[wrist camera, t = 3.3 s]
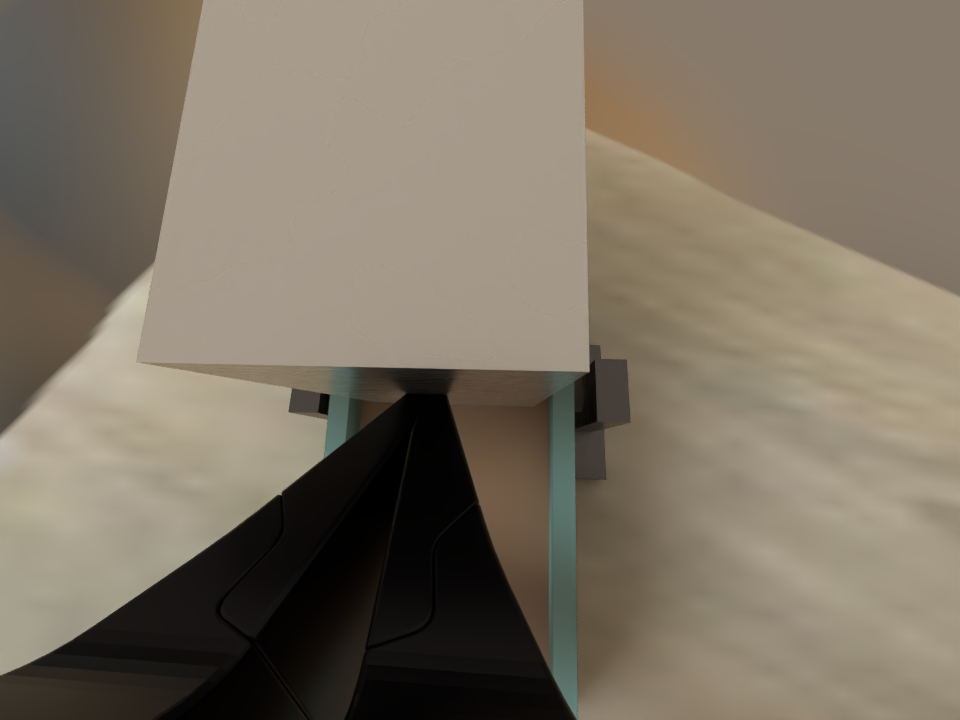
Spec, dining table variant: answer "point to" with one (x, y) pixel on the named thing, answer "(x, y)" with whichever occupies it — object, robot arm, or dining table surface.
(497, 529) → the balance beam
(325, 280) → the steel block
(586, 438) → the beam stand
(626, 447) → the dining table surface
